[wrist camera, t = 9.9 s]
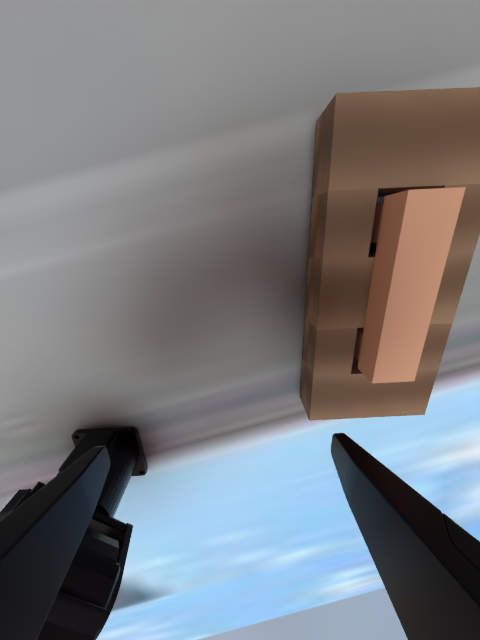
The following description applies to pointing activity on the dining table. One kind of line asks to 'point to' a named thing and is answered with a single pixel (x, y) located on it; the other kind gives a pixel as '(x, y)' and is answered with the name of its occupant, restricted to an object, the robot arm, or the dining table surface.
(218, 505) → the dining table surface
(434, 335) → the brown slotted board
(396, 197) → the tall terracotta pillar
